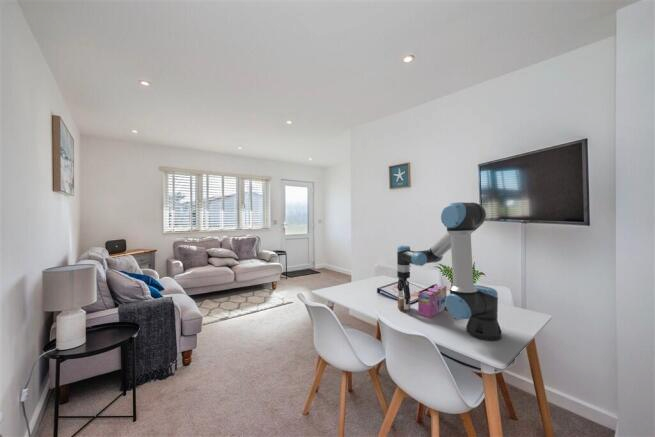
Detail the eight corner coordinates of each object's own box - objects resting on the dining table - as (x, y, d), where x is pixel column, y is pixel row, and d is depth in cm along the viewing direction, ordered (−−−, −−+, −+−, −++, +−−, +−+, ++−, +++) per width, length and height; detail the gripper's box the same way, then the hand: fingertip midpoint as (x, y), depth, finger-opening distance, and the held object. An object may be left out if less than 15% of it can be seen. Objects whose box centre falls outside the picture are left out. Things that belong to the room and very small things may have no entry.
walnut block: (410, 311, 162) (410, 298, 162) (400, 311, 162) (400, 298, 162) (407, 307, 168) (407, 295, 168) (397, 307, 168) (397, 295, 168)
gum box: (435, 304, 174) (435, 283, 173) (448, 307, 168) (448, 285, 168) (417, 314, 157) (417, 291, 157) (431, 318, 151) (431, 294, 151)
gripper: (416, 276, 152) (416, 312, 153) (403, 266, 177) (403, 298, 178) (403, 276, 152) (403, 312, 153) (392, 266, 177) (392, 298, 178)
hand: (403, 305), depth 165 cm, fingers open, 13 cm apart
